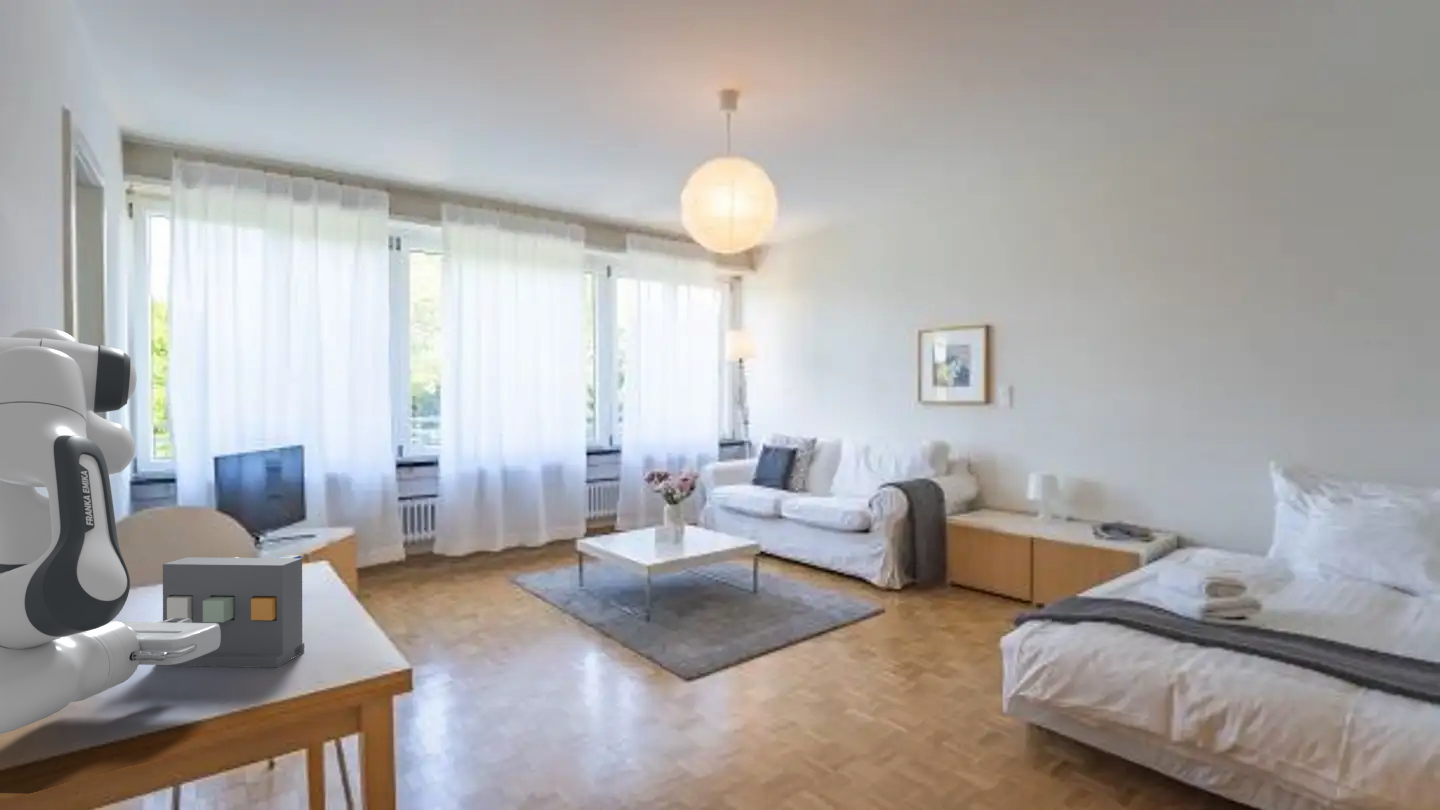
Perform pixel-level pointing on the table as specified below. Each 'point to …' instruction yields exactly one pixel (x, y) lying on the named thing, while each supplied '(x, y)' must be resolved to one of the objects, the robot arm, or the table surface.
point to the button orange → (264, 608)
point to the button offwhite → (180, 606)
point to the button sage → (219, 609)
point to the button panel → (242, 606)
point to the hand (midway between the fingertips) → (183, 623)
